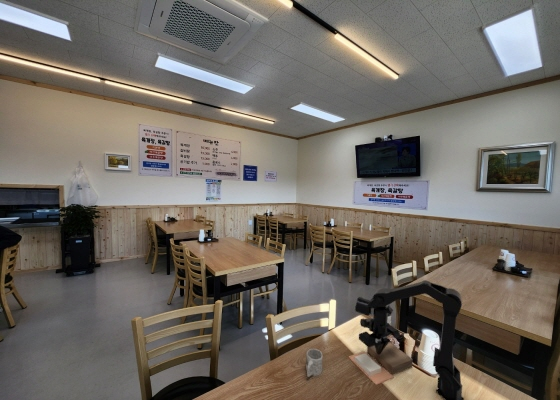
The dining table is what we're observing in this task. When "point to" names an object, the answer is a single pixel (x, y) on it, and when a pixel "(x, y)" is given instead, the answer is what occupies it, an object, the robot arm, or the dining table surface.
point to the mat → (375, 378)
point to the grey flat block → (367, 364)
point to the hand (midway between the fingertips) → (378, 353)
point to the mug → (314, 362)
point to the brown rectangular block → (391, 358)
